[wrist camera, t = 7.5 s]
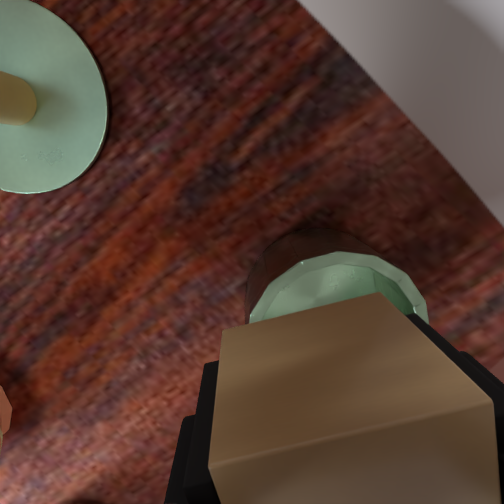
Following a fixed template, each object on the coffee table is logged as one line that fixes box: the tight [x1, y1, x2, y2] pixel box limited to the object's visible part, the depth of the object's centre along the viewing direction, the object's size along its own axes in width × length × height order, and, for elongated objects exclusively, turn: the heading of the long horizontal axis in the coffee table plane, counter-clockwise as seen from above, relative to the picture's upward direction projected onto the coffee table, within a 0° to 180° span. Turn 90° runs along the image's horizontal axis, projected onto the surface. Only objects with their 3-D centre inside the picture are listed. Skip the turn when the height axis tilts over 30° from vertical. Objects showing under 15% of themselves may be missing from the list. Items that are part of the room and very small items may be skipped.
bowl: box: [245, 228, 429, 325], centre depth 26 cm, size 12×12×8 cm
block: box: [208, 292, 502, 504], centre depth 8 cm, size 4×4×4 cm
